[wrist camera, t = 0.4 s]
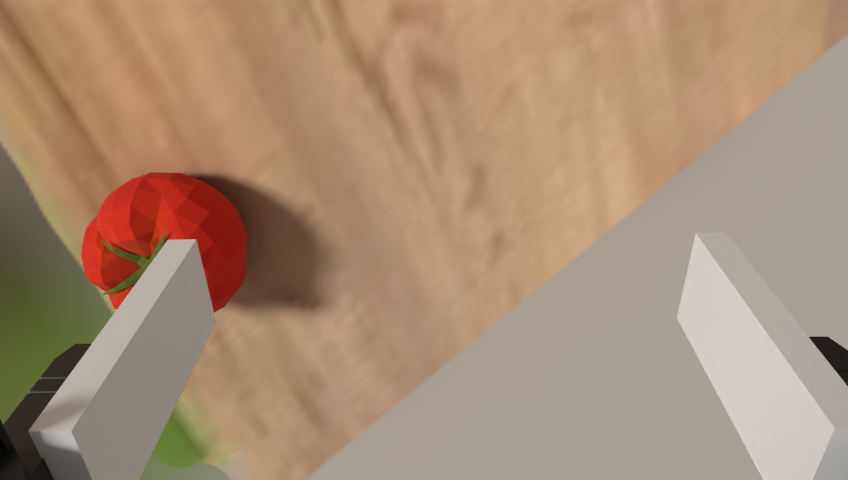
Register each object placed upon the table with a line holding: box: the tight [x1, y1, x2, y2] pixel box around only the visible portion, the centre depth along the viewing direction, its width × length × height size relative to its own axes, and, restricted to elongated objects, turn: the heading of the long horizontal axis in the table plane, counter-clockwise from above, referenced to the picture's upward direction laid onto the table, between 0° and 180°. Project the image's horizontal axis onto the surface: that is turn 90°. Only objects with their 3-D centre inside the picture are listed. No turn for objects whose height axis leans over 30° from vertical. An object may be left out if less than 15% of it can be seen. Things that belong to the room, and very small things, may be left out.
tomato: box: [81, 173, 248, 312], centre depth 44 cm, size 11×11×8 cm
